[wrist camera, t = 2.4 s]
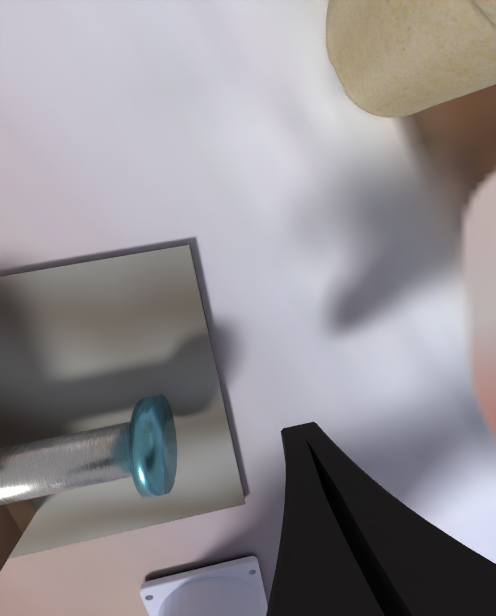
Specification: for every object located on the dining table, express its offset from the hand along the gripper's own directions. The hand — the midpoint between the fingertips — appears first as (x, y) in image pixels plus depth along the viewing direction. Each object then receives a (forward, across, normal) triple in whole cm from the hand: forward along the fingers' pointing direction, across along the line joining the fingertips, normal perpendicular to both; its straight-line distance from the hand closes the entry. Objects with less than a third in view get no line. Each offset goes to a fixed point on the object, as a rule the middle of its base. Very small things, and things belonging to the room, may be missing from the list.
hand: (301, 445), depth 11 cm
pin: (+4, +11, 0) cm, 12 cm away
